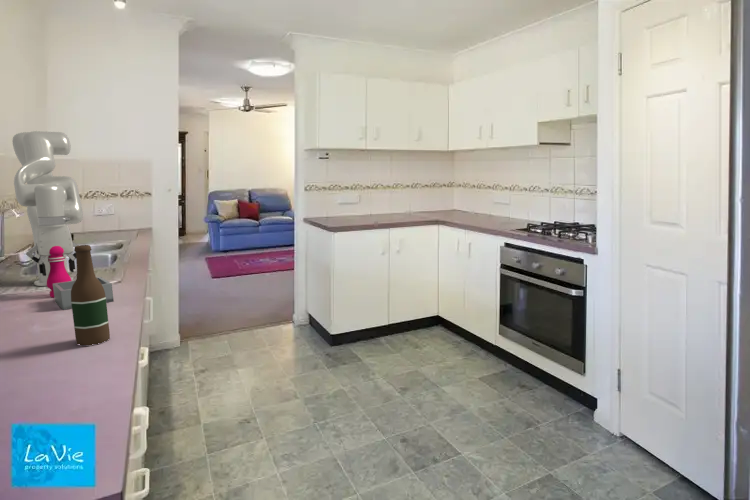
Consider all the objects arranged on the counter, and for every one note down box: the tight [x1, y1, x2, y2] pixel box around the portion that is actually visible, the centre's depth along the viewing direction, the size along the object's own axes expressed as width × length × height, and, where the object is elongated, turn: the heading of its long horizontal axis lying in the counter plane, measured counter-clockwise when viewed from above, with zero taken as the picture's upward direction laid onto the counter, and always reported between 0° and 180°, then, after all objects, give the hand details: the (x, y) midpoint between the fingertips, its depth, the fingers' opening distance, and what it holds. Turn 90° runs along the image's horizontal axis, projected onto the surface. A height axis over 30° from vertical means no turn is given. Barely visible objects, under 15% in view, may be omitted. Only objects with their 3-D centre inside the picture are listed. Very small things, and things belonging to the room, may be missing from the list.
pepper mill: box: [46, 246, 72, 299], centre depth 162 cm, size 7×7×20 cm
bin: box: [53, 276, 114, 311], centre depth 155 cm, size 14×14×6 cm
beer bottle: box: [71, 244, 111, 346], centre depth 116 cm, size 8×8×24 cm
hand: (58, 273), depth 162 cm, fingers open, 7 cm apart
